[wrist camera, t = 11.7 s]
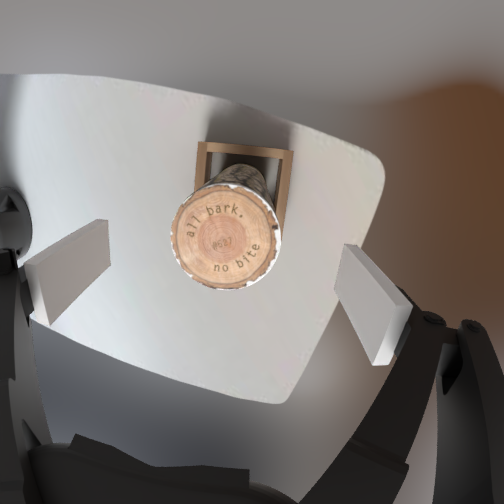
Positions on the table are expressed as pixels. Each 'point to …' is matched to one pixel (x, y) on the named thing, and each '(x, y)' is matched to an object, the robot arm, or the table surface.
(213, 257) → the paper tube
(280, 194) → the holder
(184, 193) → the table surface
